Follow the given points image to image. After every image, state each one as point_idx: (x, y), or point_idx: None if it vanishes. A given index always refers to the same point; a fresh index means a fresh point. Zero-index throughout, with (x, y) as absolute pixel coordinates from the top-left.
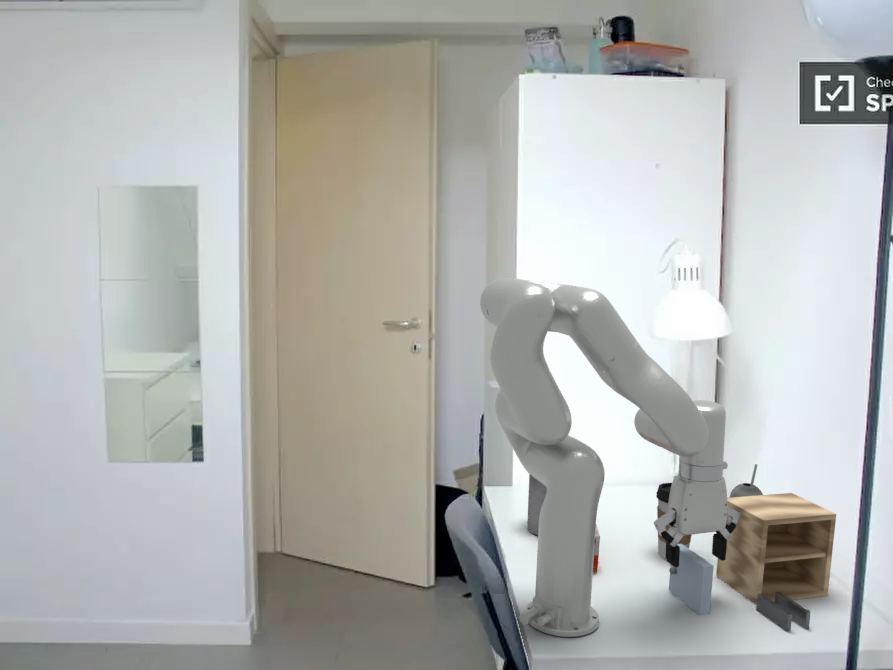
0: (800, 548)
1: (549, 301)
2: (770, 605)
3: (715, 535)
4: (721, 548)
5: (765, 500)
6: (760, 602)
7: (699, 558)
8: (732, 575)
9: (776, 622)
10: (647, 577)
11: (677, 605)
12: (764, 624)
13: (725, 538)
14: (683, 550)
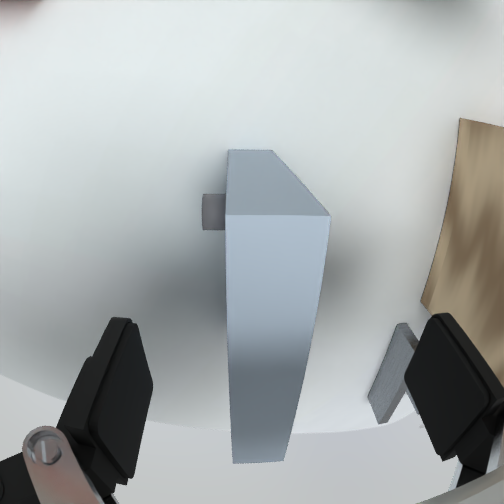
0: None
1: None
2: (395, 384)
3: (485, 410)
4: (425, 419)
5: None
6: (403, 352)
7: (274, 420)
8: (472, 212)
9: (377, 379)
10: (207, 30)
11: (192, 264)
12: (353, 376)
13: (458, 460)
14: (249, 337)
